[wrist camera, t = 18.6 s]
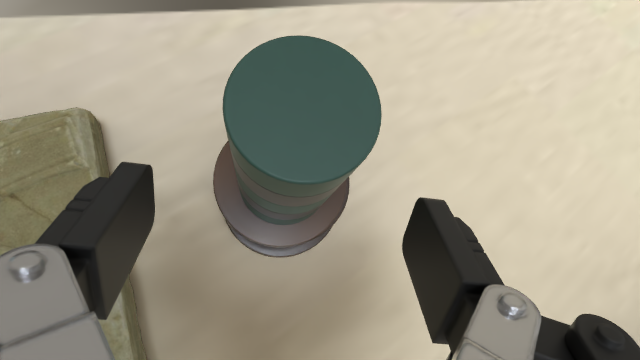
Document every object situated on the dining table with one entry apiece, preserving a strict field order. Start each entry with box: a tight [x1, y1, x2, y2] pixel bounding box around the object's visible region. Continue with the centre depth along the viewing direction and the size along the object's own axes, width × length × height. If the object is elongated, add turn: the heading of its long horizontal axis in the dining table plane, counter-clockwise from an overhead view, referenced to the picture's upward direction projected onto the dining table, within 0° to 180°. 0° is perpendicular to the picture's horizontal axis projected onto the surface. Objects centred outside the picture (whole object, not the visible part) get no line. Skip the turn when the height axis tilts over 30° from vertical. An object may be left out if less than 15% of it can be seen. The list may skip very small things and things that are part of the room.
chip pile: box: [213, 140, 349, 257], centre depth 23 cm, size 8×8×4 cm
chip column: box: [223, 36, 381, 225], centre depth 17 cm, size 5×5×10 cm
